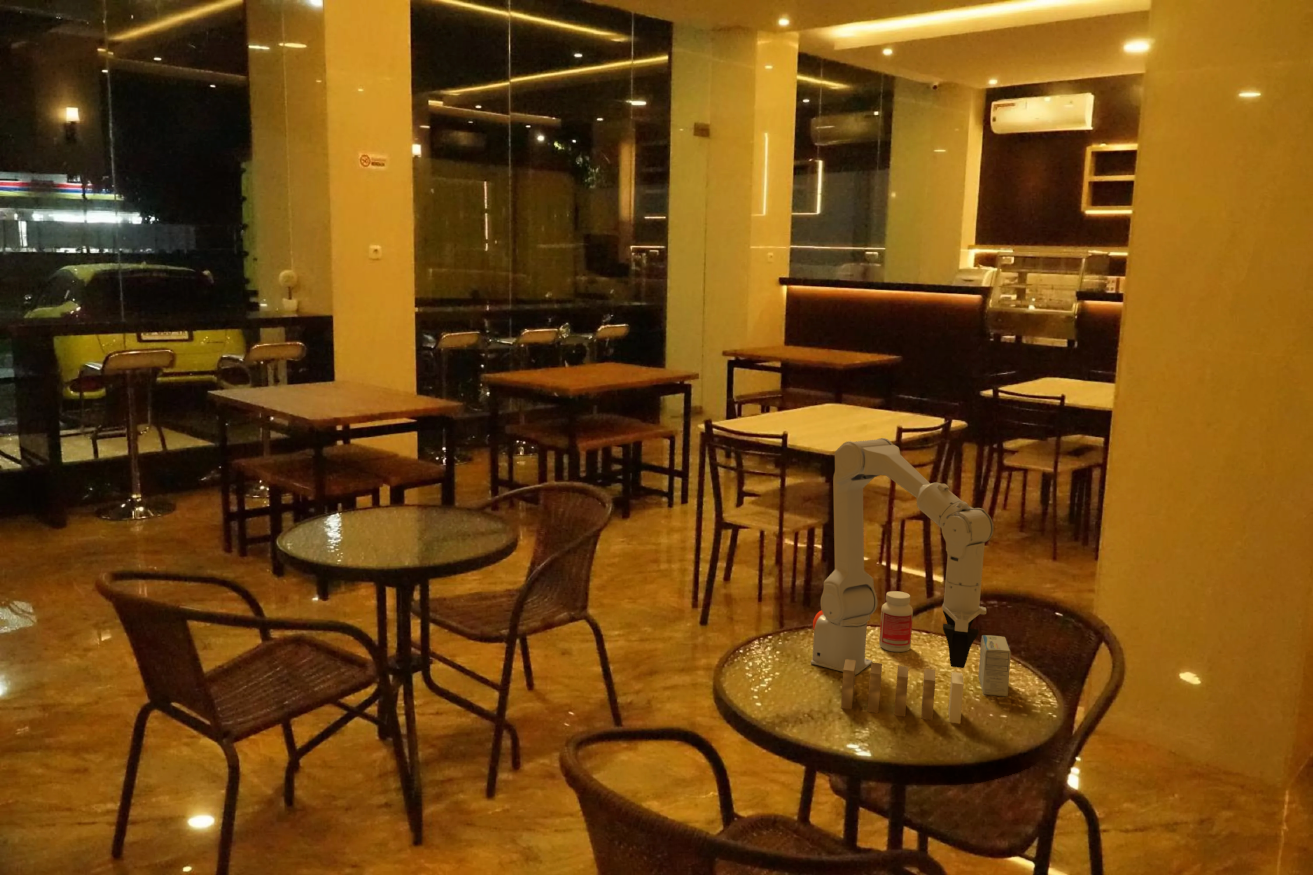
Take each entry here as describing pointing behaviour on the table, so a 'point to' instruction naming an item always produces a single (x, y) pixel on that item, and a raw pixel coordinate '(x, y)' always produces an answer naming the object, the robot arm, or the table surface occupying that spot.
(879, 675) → the domino
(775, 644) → the table surface
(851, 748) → the table surface
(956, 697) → the end domino
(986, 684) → the medicine box
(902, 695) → the domino
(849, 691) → the domino
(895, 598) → the pill bottle
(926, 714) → the domino
